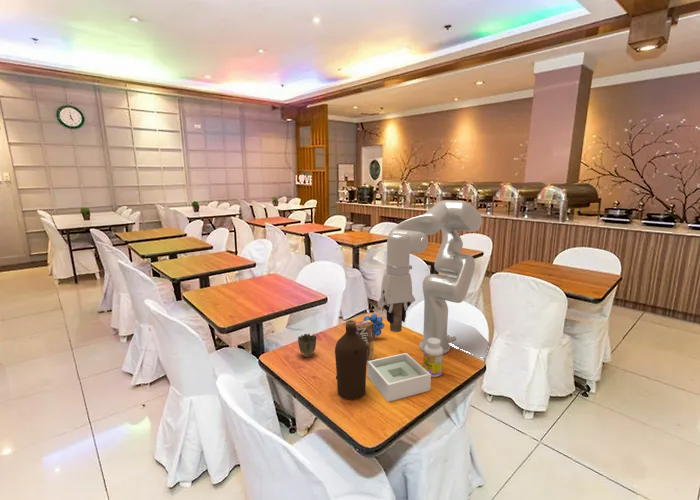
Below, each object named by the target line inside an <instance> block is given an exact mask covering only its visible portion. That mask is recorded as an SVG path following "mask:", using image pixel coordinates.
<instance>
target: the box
mask: <svg viewBox="0 0 700 500" xmlns="http://www.w3.org/2000/svg"><path fill="white" fill-rule="evenodd" d="M366 377H367V378H368V379H369V380H370V381H371V382H372V384H373V385H374V386H375V387H376V389H377V390H378V391H379V392H380V394H381V395H382V397H384V399H385V400H386V401H387V403H389V402H393V401H396V400H400V399H404V398H408V397H411V396H414V395H418V394H422V393H427V392H429V391H430V392H431V384H432V377H431V374H430V373H429V372H428V371H427V370H425V369H424V368H423V365H421V364H420V363H419V362H418V361H416V359H415V358H413V357H412V356H411V355H409V353H407V352H404V353H399V354H394V355H390V356H385V357H382V358H381V357H379V358H376V359H375V358H374V359H371V360H368V361H367V365H366Z"/></svg>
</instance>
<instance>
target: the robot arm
mask: <svg viewBox="0 0 700 500" xmlns="http://www.w3.org/2000/svg"><path fill="white" fill-rule="evenodd" d="M482 224H483V217H482V214H481V213H480V212H479V210H477V208H476V207H474V206H473V205H472V204H471V203H469V202H467V201H464V200H453V199H452V200H449V199H448V200H447V199H446V200H445V199H444V200H439V201H437V202H436V203H435V204H434V205H433V206H432V207H431V208H430V209H428V210H427V211H425V213H423V214H420V215H417V216H413V217H411V218H408V219H405V220H403V221H401V222H400V223H398V224H397V225H395V226H394V227H393V228H392V229H391V230H390V231H389V233H388V236H387V240H386V241H387V242H386V272H384V273H383V277H382V281H381V288H380V298H379V300H378V301H377V304H378V306H380V307H382V308H383V309H384V310H385V311H386V317H385V318H386V321H387V322H388V323H389V324H390V323H391V324H392V323H393V312H392V308H393V304H396V303H402V323H405V322H406V318H407V311H408V310H409V309H408V308H409V307H410V306H411V305H412V304H413V303H414V302H416V298H415V296H414V294H413V282H412V276H411V273H410V270H412V269H413V265H411V264H410V254H421V253H423V252H424V251H425V250H427V248H428V245H429V238H428V236H429V235H435V234H437V233H439V231H441V235H442V242H441V243H440V247H439V250H438V251H437V252H438V253H437V255H436V257H435V261H434V270H435V271H436V272H437V273H439V274H436V273H430V274H428V275H426V276H425V277H424V279H423V280H422V293H423V301H424V304H423V306H424V309H423V332H422V333H423V337H422V338H423V339H422V340H421V341H419V343H418V344H419V345H418V346H419V349H420V350H421V351H423V352H424V348H425V346H426V345H428V344H427V339H429V338H437V339H439V340H440V346H441V347H442V349H443V355H444V354H447V353H449V352H450V351H451V345H450V343H451V342H456V341H457V336H455V335H454V336H453V335H452V336H450V335H448V323H449V322H448V318H449V307H448V304H447V302H451V303H455V304H460V303H462V302H463V301H465V299H466V297H467V295H468V291H469V288H470V287H471V286H470V284H471V282H472V279H473V277H474V275H475V274H474V273H475V270H476V269H475V268H476V262H475V258H474V256H472V255H471V254H468V253H462V250H463V247H464V244H463V243H464V242H463V239H462V238H461V236H460V234H459V232H471V233H474V232H477V231H479V230H480V229H481V227H482ZM458 231H459V232H458ZM451 276H452V277H451ZM384 302H385V303H384Z"/></svg>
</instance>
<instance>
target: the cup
mask: <svg viewBox="0 0 700 500" xmlns="http://www.w3.org/2000/svg"><path fill="white" fill-rule="evenodd" d="M297 342H298V347H299V351H300V352H301V354H303V357H304V358H311V357H312V356H313V353H314V351H315V350H316V346H317V335H315V334H314V333H313V334H310V333H304V334H303V335H302V334H301V335H300V336H298V337H297Z"/></svg>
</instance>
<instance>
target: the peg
mask: <svg viewBox="0 0 700 500" xmlns="http://www.w3.org/2000/svg"><path fill="white" fill-rule="evenodd" d="M392 312H393V323H392V324H391V323H389V330H390V332H393V333H399V332H402V325H403V324H402V323H403V321H402V303H396V304H393V308H392Z"/></svg>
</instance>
